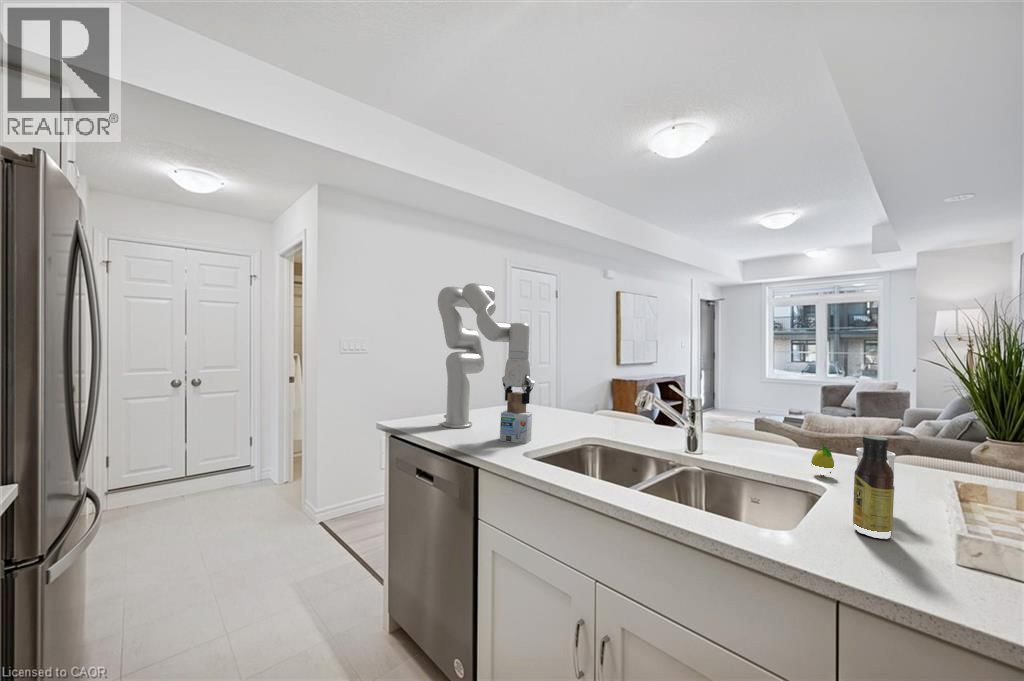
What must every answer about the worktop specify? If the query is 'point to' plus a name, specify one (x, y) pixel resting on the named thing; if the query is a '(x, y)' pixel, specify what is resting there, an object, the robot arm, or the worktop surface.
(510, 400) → the walnut block
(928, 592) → the worktop surface
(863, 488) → the sauce bottle
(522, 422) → the light bulb box
